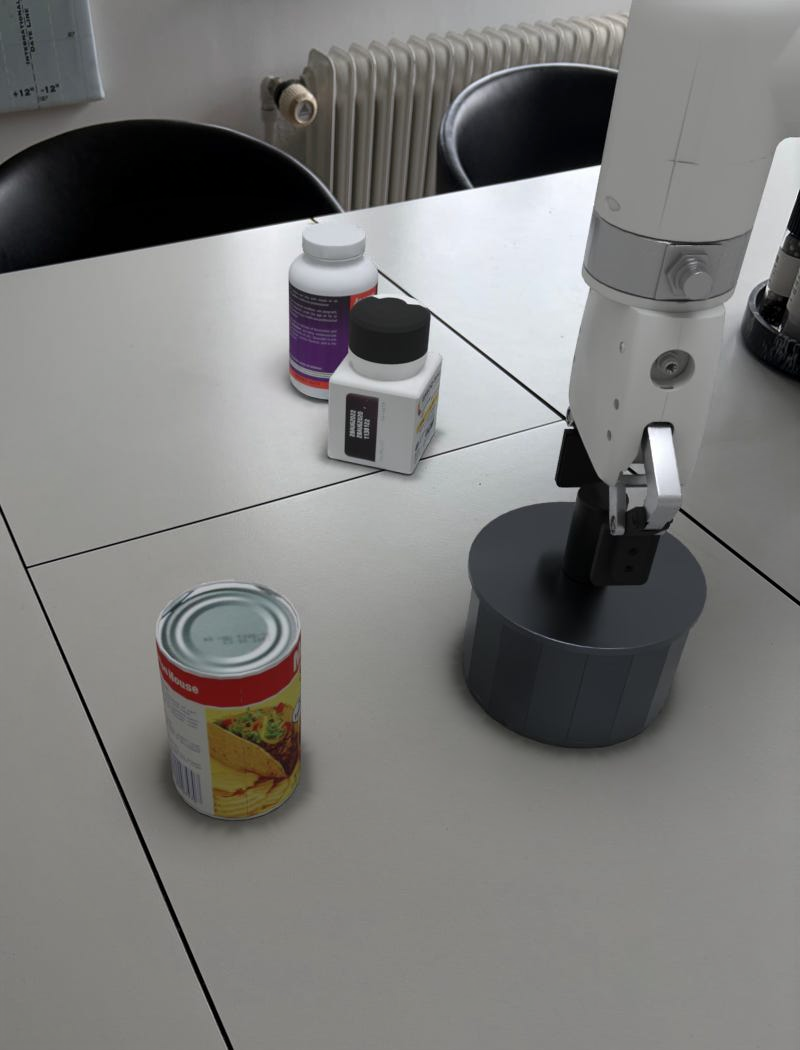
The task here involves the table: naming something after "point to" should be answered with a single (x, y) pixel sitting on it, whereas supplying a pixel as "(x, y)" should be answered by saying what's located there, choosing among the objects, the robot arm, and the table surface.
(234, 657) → the canned food
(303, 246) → the pill bottle
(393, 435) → the container
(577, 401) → the robot arm
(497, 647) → the tin
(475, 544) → the tin lid
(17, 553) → the table surface
